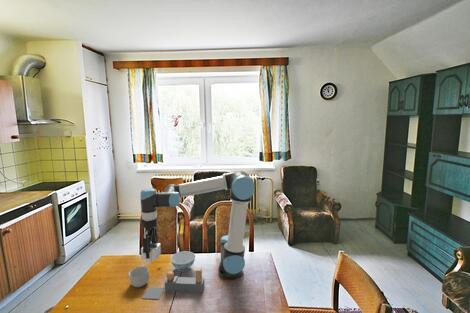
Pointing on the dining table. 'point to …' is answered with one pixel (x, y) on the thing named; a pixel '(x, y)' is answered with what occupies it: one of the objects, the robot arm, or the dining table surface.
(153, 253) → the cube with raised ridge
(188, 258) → the chinaware
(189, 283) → the plane
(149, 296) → the mat
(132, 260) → the dining table surface
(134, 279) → the teacup
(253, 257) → the dining table surface
